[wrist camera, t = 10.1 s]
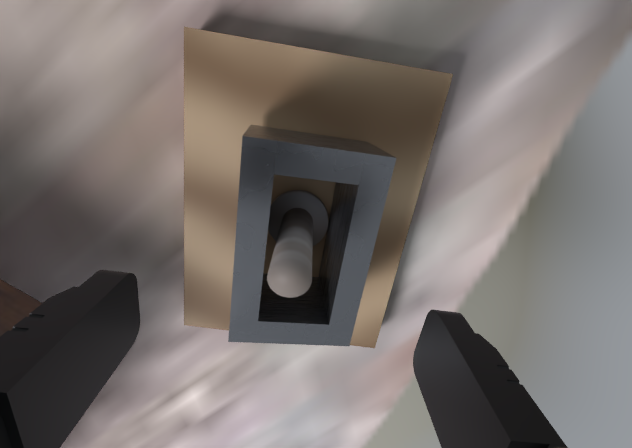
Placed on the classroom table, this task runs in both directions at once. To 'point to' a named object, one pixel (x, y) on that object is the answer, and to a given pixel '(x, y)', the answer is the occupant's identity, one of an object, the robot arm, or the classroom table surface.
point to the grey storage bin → (340, 244)
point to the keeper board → (292, 192)
